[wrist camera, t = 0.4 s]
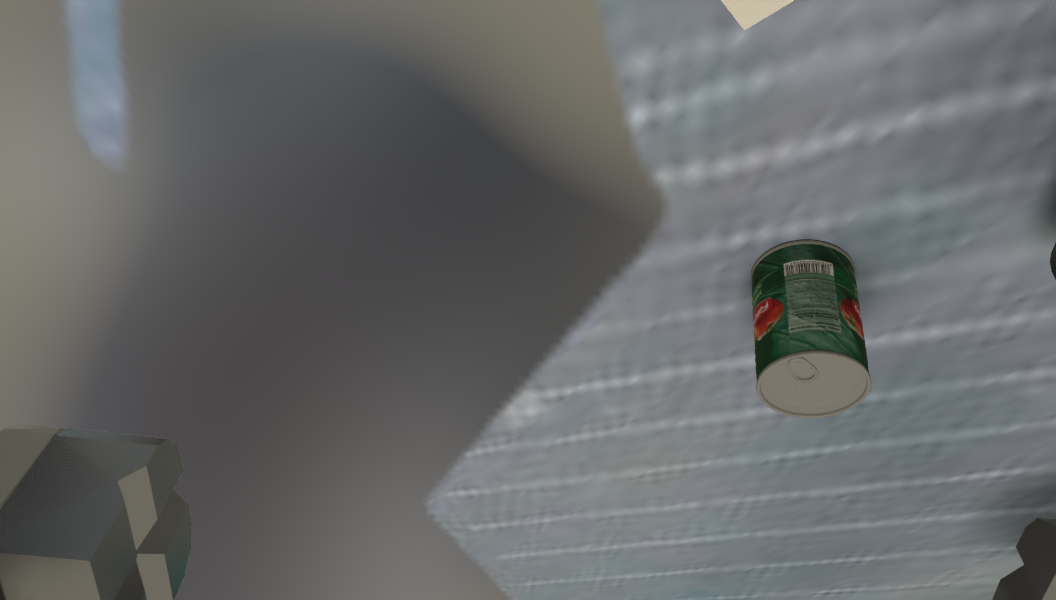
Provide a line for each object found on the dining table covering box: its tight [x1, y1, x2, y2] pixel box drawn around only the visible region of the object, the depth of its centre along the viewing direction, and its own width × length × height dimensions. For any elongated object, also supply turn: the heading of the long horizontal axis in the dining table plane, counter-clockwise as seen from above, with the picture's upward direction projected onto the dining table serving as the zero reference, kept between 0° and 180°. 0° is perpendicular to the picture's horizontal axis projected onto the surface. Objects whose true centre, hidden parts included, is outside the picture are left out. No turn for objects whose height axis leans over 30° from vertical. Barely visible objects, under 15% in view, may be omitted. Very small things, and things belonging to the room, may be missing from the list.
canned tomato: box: [751, 240, 871, 418], centre depth 73 cm, size 8×8×11 cm
